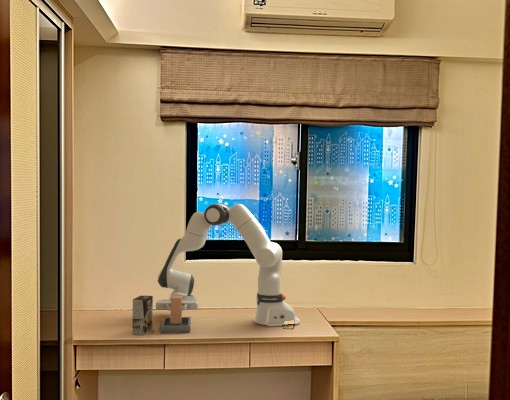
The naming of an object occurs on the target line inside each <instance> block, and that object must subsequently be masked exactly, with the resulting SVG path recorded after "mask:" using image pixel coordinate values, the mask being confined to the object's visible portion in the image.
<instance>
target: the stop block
mask: <svg viewBox="0 0 510 400" xmlns="http://www.w3.org/2000/svg"><path fill="white" fill-rule="evenodd" d="M170 317H171V324H179V323H181V322H182V317H183V310H182V296H171V311H170Z"/></svg>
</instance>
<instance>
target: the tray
mask: <svg viewBox="0 0 510 400" xmlns="http://www.w3.org/2000/svg"><path fill="white" fill-rule="evenodd" d="M191 318H192V317H190V316H182V322H181V323H179V324H171V316H169V317H167V316H165V317H163V319H162V323H161V325H160V334H185V333H187V334H188V333H189V334H190V333H191V332H190V331H191V324H192V322H191Z"/></svg>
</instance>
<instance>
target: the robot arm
mask: <svg viewBox="0 0 510 400" xmlns="http://www.w3.org/2000/svg"><path fill="white" fill-rule="evenodd" d="M228 223H230V224H231V225H232V226H233V227H234V228H235V230H236V231H237V232H238V234H239V235H240V236H241V238H242V239H243V240H244V242H245V244H246V245H247V247H248V249H249V250H250V253H251V254H252V255H253V257H254V259H255V262H256V263H257V265H258V266H259V269H258V274H257V275H258V277H257V293H256V312H255V317H254V320H253V322H254V323H255V324H258V325H262V326H267V327H281V326H282V325H283V324H284V322H285V321H289V320H294V321H295V322H294V324H295V325H294V326H296V325H299V324H300V321H301V320H300V319H299V318H298V317H297V316H296V313H295V310H294V308H293V307H292V306H291V305H290V304H289V303H287V302H286V301H285V300H286V298H287V297H286V296H285V294H283V293H281V275H282V272H281V271H282V263H283V249H282V247H281V246H280V244H278V243H277V242H273V241H271V240H270V239H269V237H268V235H267V233H266V231H265V229H264V228H263V226H262V225H261V223H260V222H259V221H258V220H257V219H256V217H255V216H254V215H253V213H251V211H250V210H249V208H247V207H246V206H245V205H244V204H241V203H235V204H233V205H232V206H231V207H229V206H228V205H227V204H224V203H212V204H210V205H208V206H207V207H206V208H205V210H204V211H203V212H202V211H196V212H194V213H193V214H192V215H191V217H190V219H189V221H188V223H187V227H186V231H185V233H184V234H183V236H182V237H181V238H178V239H177V240H176V242H174V244H173V247H172V248H171V250H170V252H169V255H168V256H167V258H166V261H165V262H164V266H163V267H162V268H161V270H160V271H159V273H158V275H157V283H158V285H159V286H160V288H166V289H171V290H173V291H172V292H171V294H170V295H169V296H170V297H169V299H158V300H156V302H155V310H157V311H168V312H169V311H170V312H171V296H182V311H190V310H192V311H195V310H196V311H197V310H198V309H199V307H198V306H199V301H198V299H197V298H196V295H194V294H193V295H192V292H193V290H194V286H195V277H194V276H193V274H191V273H187V272H185V271H180V270H176V269H173V266H174V264H175V261H176V259H177V257H178V256H179V255H180V254H181V253H185V252H194V251H198V250H200V249H201V248H203V247H204V246H205V245H206V244H205V243H206V241H207V238H208V235H209V232H210V231H209V230H210V229H211V227H212V226H213V227H214V226H222V225H226V224H228Z"/></svg>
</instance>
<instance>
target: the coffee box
mask: <svg viewBox="0 0 510 400" xmlns="http://www.w3.org/2000/svg"><path fill="white" fill-rule="evenodd" d="M153 299H154V296H153V295H139V296H136V297H135V298H133V299H132V321H131V322H132V331H131V334H132V335H137V336H139V335H140V336H146V335H147V334H148V333H150V332H152V331H153V328H154V327H153V324H154V323H153V322H154V321H153V319H154V318H153V316H154V315H153V314H154V313H153V305H154V304H153V301H154V300H153Z"/></svg>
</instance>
